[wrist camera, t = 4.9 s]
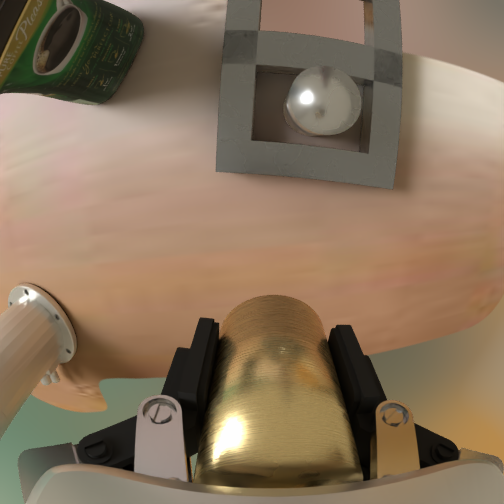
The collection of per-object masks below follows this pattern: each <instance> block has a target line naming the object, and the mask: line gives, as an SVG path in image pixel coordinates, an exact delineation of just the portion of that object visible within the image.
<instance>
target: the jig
mask: <svg viewBox="0 0 504 504" xmlns="http://www.w3.org/2000/svg"><path fill="white" fill-rule="evenodd" d="M361 1H364V25H365V26H364V29H365V45H362V44H358V43H353V42H348V41H343V40H338V39H332V38H326V37H320V36H312V35H305V34H297V33H287V32H275V31H260V20H261V6H262V0H228V5H227V14H226V24H225V35H224V46H223V58H222V70H221V84H220V98H219V114H218V132H217V152H216V172H230V173H248V174H263V175H276V176H288V177H299V178H309V179H318V180H327V181H336V182H344V183H351V184H359V185H366V186H373V187H380V188H386V189H392V190H393V185H394V178H395V171H396V162H397V154H398V144H399V133H400V119H401V102H402V35H401V34H402V33H401V17H400V5H399V0H361ZM315 66H330V67H334V68H337V69H339V70H341V71H343V72H344V73H346V74H347V75H348V76H349V77H350V78H351V79H352V80H353V81H354V82H355V84H359V85H364V92H363V110H362V124H361V137H360V148H359V152H355V151H348V150H341V149H334V148H327V147H319V146H310V145H301V144H291V143H280V142H267V141H252V140H253V124H254V108H255V93H256V78H257V72H270V73H283V74H293V75H299V74H300V73H301V72H303V71H305V70H306V69H308V68H311V67H315Z"/></svg>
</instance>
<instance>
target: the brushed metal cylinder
mask: <svg viewBox="0 0 504 504" xmlns="http://www.w3.org/2000/svg"><path fill="white" fill-rule="evenodd" d="M360 111H361V95H360V92H359V89H358V87H357V86H356V84H355V82H354V81H353V80H352V79H351V78H350V77H349V76H348V75H347V74H346V73H344V72H343V71H341V70H339V69H337V68H334V67H330V66H315V67H311V68H308V69H306V70H305V71H303V72H301V73H300V74H299V75H298V76H297V77H296V78H295V80H294V82H293V84H292V86H291V88H290V90H289V92H288V94H287V96H286V99H285V101H284V104H283V114H284V118H285V120H286V122H287V123H288V125H289V126H290V127H291V128H292V129H293V130H294V131H296V132H298V133H300V134H302V135H306V136H319V135H334V134H339V133H342V132H344V131H346V130H347V129H349V128H350V127H351V126H353V124H354V123H355V122H356V121H357V119H358V117H359V115H360Z"/></svg>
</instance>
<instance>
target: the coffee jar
mask: <svg viewBox="0 0 504 504" xmlns="http://www.w3.org/2000/svg"><path fill="white" fill-rule="evenodd" d="M143 34H144V28H143V24H142V22H141V21H140V20H139V18H137V17H136V16H135V15H133V14H132V13H130V12H128V11H126V10H124V9H122V8H120V7H118V6H116V5H114V4H111V3H109V2H106V1H104V0H0V94H3V93H27V94H35V95H40V96H46V97H51V98H55V99H59V100H63V101H68V102H73V103H79V104H85V105H97V104H101V103H103V102H105V101H106V100H108V99H109V98H110V97H111V96H112V95H113V94H114V93H115V92H116V90H117V89H118V87H119V85H120V84H121V82H122V80H123V79H124V77H125V75H126V73H127V72H128V70H129V68H130V66H131V64H132V62H133V60H134V58H135V56H136V54H137V51H138V49H139V47H140V44H141V42H142V39H143Z"/></svg>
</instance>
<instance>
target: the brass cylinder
mask: <svg viewBox="0 0 504 504" xmlns="http://www.w3.org/2000/svg"><path fill="white" fill-rule="evenodd" d="M361 481H363V474H362V469H361V465H360V461H359V457H358V452H357V448H356V444H355V440H354V436H353V432H352V428H351V424H350V421H349V417H348V413H347V409H346V405H345V402H344V398H343V394H342V391H341V387H340V383H339V380H338V376H337V373H336V369H335V366H334V362H333V359H332V355H331V352H330V349H329V345H328V342H327V339H326V335H325V332H324V329H323V325H322V323H321V320H320V318H319V316H318V315H317V314H316V312H315V311H314V310H313V309H312V308H311V307H310V306H308V305H307V304H305V303H304V302H302V301H300V300H297V299H295V298H292V297H288V296H281V295H266V296H260V297H255V298H252V299H250V300H247V301H245V302H243V303H241V304H240V305H238V306H237V307H235V308H234V309H233V310H232V311H231V312H230V313H229V314H228V315H227V317H226V318H225V320H224V322H223V324H222V326H221V330H220V335H219V342H218V348H217V353H216V358H215V363H214V369H213V374H212V380H211V385H210V391H209V396H208V402H207V407H206V413H205V417H204V422H203V427H202V433H201V438H200V444H199V450H198V456H197V462H196V468H195V473H194V479H193V483H198V484H206V485H215V486H226V487H240V488H306V487H320V486H331V485H340V484H348V483H355V482H361Z"/></svg>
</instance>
